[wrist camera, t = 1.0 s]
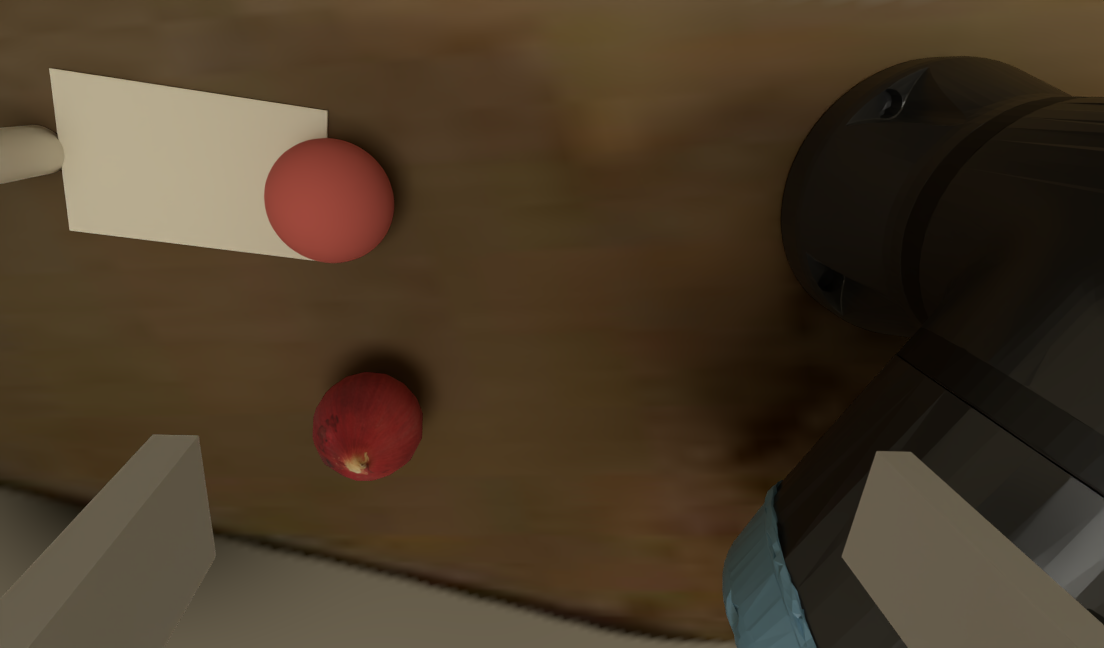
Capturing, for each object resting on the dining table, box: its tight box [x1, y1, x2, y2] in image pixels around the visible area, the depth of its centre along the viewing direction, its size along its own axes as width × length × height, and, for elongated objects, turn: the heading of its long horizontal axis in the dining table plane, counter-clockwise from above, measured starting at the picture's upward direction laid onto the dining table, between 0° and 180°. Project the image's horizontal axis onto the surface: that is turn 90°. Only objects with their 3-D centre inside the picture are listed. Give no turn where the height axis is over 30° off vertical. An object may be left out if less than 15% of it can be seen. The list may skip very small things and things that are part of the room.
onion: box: [313, 372, 423, 481], centre depth 34 cm, size 6×6×8 cm
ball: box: [264, 138, 394, 263], centre depth 30 cm, size 6×6×6 cm
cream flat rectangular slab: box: [49, 68, 328, 261], centre depth 32 cm, size 13×8×1 cm, turn 81°
